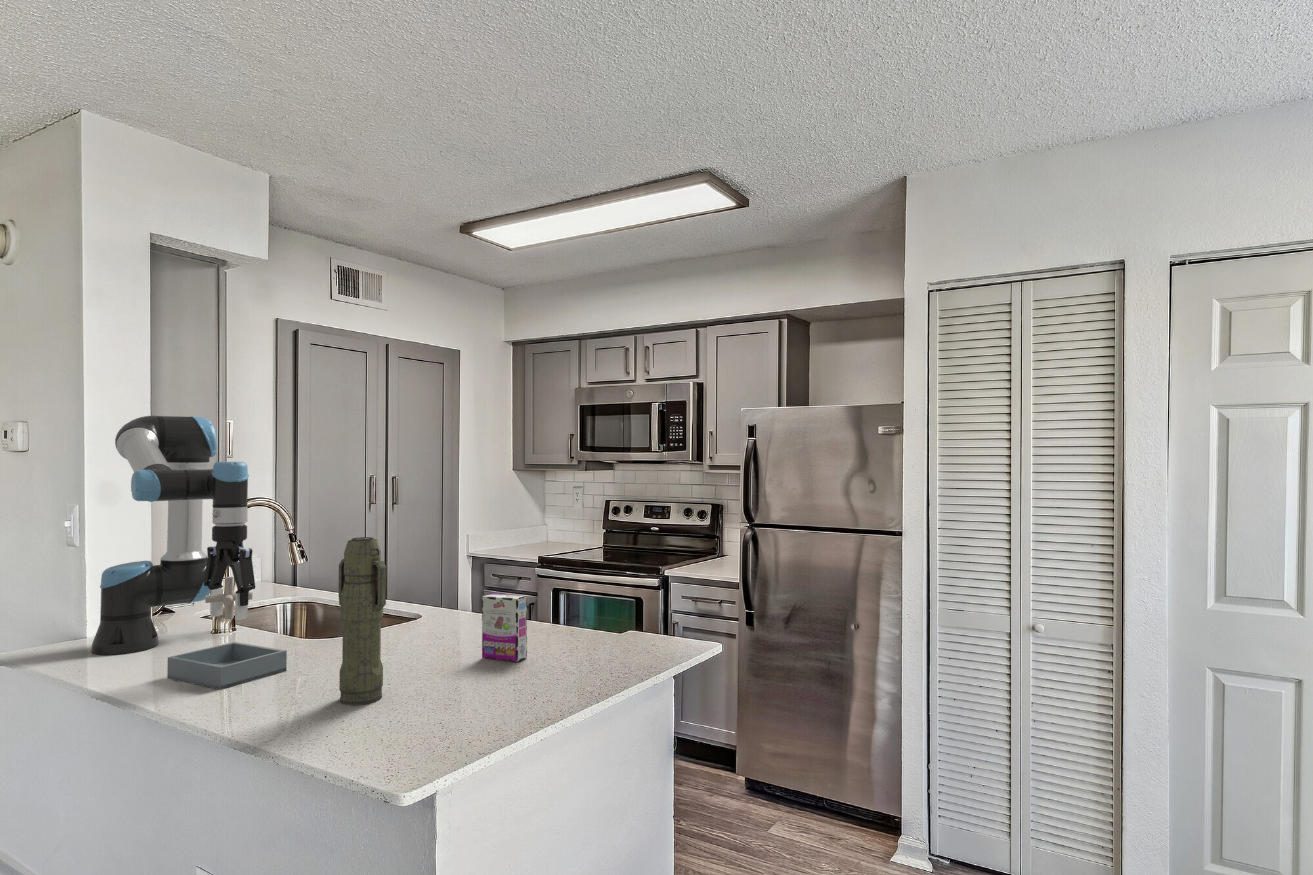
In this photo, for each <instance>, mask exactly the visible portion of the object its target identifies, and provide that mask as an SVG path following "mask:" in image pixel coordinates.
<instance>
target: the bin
mask: <svg viewBox="0 0 1313 875" xmlns="http://www.w3.org/2000/svg"><path fill="white" fill-rule="evenodd" d="M287 653H288V651H287V650H285V649H280V648H274V647H273V648H272V647H268V646H267V647H266V646H262V645H261V646H260V645H254V644H249V643H244V642H237V641H233V642H228V643H224V644H220V645H216V646H215V645H214V646H210V647H207V648H203V649H198V650H194V651H189V652H185V653H180V654H176V655H172V656H167V669H166V670H167V671H166V672H167V673H166V674H167V676H166V678H167V679H170V680H173V681H179V682H182V681H183V683H187V684H192V683H193V685H196V686H201V685H203V687H206V688H211V687H212V688H211V689H215V690H220V689H221V690H225V689H227V688H230V687H236V686H238V685H239V686H240V685H242V684H246V683H249V682H252V681H257V680H260V679H262V678H266V677H270V676H273V675H277V674H280V673H284V672H287V664H288V663H287V659H288V658H287V656H288V655H287Z"/></svg>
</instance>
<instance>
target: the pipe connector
mask: <svg viewBox="0 0 1313 875" xmlns="http://www.w3.org/2000/svg"><path fill="white" fill-rule="evenodd" d="M224 577H225V578H224V593H223V594H218V595H210V594H209V595H206V596H205V600H204V602H205V604H209V603H212V602H223V606H224V620H233V619H234V602H235V592H236V591H234V585H235V584H234V583H235V579H234V576H224ZM253 598H254V597H253V591H249V595H248V601H251V600H253Z"/></svg>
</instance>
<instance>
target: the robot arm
mask: <svg viewBox="0 0 1313 875" xmlns="http://www.w3.org/2000/svg"><path fill="white" fill-rule="evenodd" d="M114 444H115V448H116V450H117V452H118V454H119V455H120V456H121V457H122V458H124V459H126V460H127V461H128V462H127V463H128V464H129V465H130V467H131V469H132V472H133V473H132V475H131V480H130V492H131V496H132V499H133V500H134V501H137V502H148V503H149V502H150V503H153V502H165V501H167V531H166V533H167V537H166V538H167V540H166V552H165V553H164V554H162V556H161V557H160V561H159V562H160V564H157V565H156V564H155V565H154V563H152V561H151V560H140V561H139V560H137V561H131V562H127V563H126V562H125V563H121V564H116V565H113V566H110V567H107V568H105V570H103V571H102V573H101V578H100V580H101V581H100V585H99V588H100V611H99V612H100V619H99V625H98V627H97V630H96V632H95V635H94V637H93V641H92V644H91V653H92V652H93V653H92V654H96V655H121V654H129V653H136V652H141V651H145V650H149V649H153V648H155V647H157V646H158V645H159V635H158V632H157V630H156V628H155V624H154V621H153V619H152V608H155V607H162V606H163V607H165V606H172V605H179V604H181V605H182V604H191V603H196V602H198V603H199V602H202V601H205V596H206V595H218V594H224V585H222V583H223V580H224V579H225V578H224V577H225V575H226V572H227V568H228V567H229V568H231V572H232V575H233V576H232V577H234V583H235V585H236V589H237V590H236V591H234V592H235V601H234V620H235V621H240V620H247V619H248V610H249V608H248V607H249V606H248V605H249V600H248V595H249V592H251V591H252V590H255V589H256V583H255V580H256V579H255V575H254V574H255V572H254V566H253V549H252V548H251V547H249V548H245V546H244V543H243V542H244V541H246V540H247V539H248V526H247V522H248V520H249V518H248V516H249V514H248V512H249V511H248V510H249V509H248V490H249V482H248V481H249V477H250V476H249V471H248V470H249V469H248V464H247V463H246V462H245V461H217V462H214V463H213V466H212V468H210V469H205V467H207V466H208V465H209V464H210V458H213V457H215V456H216V455H217V449H218V441H217V434H216V430H215V427H214V424H213V423H212V421H211V420H210V419H208V418H206V417H200V416H199V417H198V416H176V415H175V416H172V415H171V416H170V415H169V416H168V415H146V416H144V415H143V416H140V417H137V418H135V419H132V420H130V421H129V422H127V423H125V424H124V425H122V426H121V428H120V429H119V430H118V431H117V433H116V435H115V439H114ZM204 500H212V515H211V516H212V521H211V522H212V524H213V525H214V526H212V527H211V541H212V542H216V544H215V546H208V547H207V548H206V549H207V550H206V551H207V554H206V553H205V552H204V551H203V550H202V548H203V545H202V544H203V542H202V541H203V540H202V539H203V503H204ZM223 606H224V604H223V602H212V603H210V609H209V611H210V612H209V614H210V615H209V616H210V618H214V617H215V618H216V617H218V616H223V615H224V613H223V612H224V611H223V610H224V607H223Z"/></svg>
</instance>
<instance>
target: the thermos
mask: <svg viewBox="0 0 1313 875" xmlns="http://www.w3.org/2000/svg"><path fill="white" fill-rule="evenodd" d="M381 553H382V552H381V548H380V545H379V541H378V539H376V538H375V537H368V536H367V537H365V536H363V537H353V538H352V537H351V539H350V540H347V543H346V546H345V548H344V552H343V558H342V559H341V561H339V564H338V602H339V603H338V604H339V606H340V621H341V624H342V653H341V654H342V658H341V659H342V660H341V661H342V662H341V665H340V667H339V681H338V682H339V685H338V686H339V691H340V697H339V701H340V703H341V704H342V705H347V706H362V705H367V704H368V705H369V704H372V703H376V702H377V701H380V700H382V698H383V691H382V690H383V685H384V665H383V663H382V660H381V658H382V656H381V653H382V652H381V648H382V646H381V642H382V640H381V638H382V637H381V636H382V633H381V632H382V630H381V629H382V619H383V618H384V608H385V606H386V605H387V599H386V598H387V596H386V595H387V574H388V573H387V571H388V570H387V568H388V567H387V565H386V563H385V561H384V560H381V558H382V556H381V555H382V554H381Z"/></svg>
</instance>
